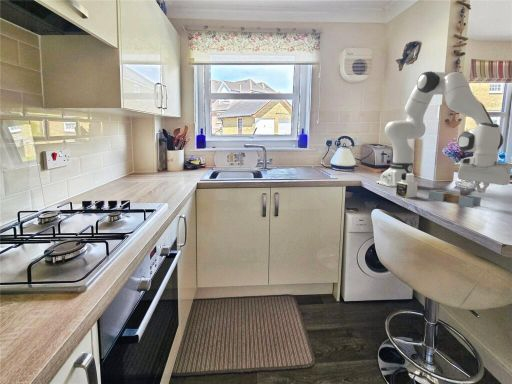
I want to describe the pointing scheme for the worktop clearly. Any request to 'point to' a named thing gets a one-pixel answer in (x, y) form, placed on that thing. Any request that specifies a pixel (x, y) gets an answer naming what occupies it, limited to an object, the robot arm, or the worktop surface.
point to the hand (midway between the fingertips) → (480, 192)
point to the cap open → (469, 201)
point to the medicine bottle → (407, 186)
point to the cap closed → (437, 195)
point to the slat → (451, 197)
